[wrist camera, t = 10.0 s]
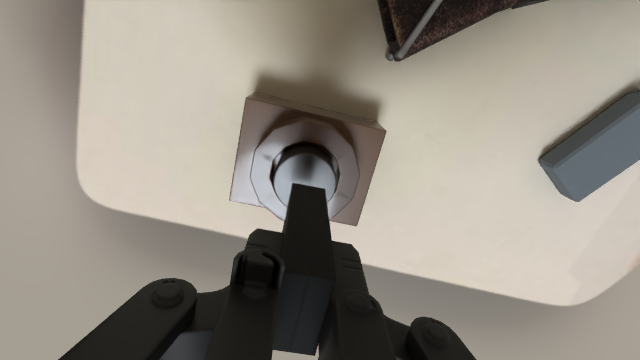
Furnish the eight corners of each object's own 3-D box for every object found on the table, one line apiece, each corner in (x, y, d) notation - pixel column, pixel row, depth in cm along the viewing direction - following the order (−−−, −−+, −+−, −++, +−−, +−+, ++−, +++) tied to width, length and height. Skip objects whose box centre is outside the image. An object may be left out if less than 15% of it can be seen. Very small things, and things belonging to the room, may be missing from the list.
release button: (341, 152, 20) (343, 161, 18) (326, 205, 21) (328, 218, 20) (282, 139, 20) (279, 146, 18) (271, 194, 21) (267, 205, 19)
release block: (377, 121, 24) (393, 137, 20) (351, 207, 26) (360, 239, 22) (253, 92, 23) (240, 100, 19) (238, 183, 26) (222, 212, 21)
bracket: (535, 159, 26) (553, 168, 24) (665, 62, 23) (696, 63, 22) (559, 194, 27) (578, 204, 25) (686, 104, 24) (717, 108, 23)
